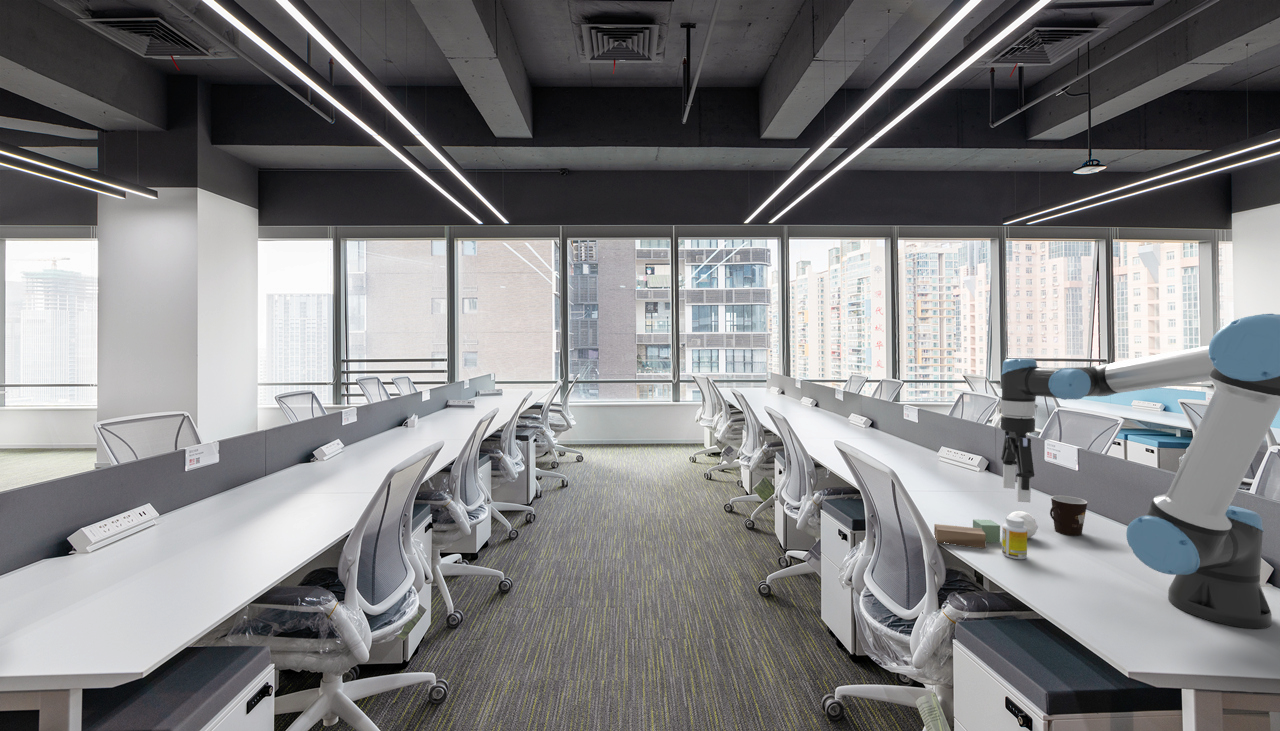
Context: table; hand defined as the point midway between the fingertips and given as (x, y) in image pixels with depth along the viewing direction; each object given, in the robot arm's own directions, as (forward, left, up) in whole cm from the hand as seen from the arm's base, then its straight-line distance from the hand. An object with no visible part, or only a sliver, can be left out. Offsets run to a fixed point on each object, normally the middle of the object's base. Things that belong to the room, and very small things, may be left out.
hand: (1015, 494), depth 145 cm
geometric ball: (+17, -6, -17) cm, 25 cm away
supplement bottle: (0, 0, -17) cm, 17 cm away
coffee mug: (+26, -19, -17) cm, 36 cm away
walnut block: (+6, +12, -17) cm, 21 cm away
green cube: (+12, +4, -17) cm, 21 cm away
